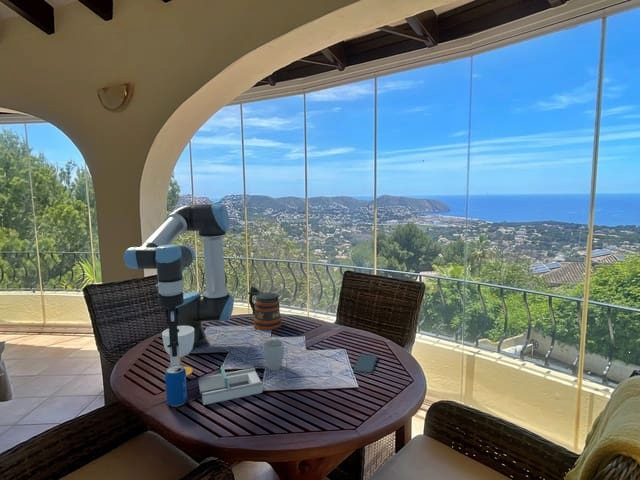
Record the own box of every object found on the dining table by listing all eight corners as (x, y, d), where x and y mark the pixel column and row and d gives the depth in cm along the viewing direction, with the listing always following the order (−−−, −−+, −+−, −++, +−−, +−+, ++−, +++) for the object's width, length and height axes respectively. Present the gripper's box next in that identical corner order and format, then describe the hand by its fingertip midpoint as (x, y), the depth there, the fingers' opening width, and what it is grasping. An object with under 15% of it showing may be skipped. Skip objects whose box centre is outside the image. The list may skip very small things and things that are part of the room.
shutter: (198, 381, 135) (197, 371, 134) (223, 376, 138) (223, 366, 138) (200, 393, 127) (199, 383, 126) (227, 388, 130) (227, 378, 129)
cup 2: (287, 364, 155) (287, 341, 154) (279, 373, 147) (278, 348, 146) (269, 361, 157) (269, 338, 156) (260, 370, 150) (259, 346, 149)
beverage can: (180, 409, 124) (178, 374, 122) (162, 406, 125) (160, 372, 123) (191, 398, 130) (189, 365, 128) (174, 396, 131) (172, 363, 130)
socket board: (200, 387, 137) (199, 377, 136) (254, 377, 144) (254, 367, 144) (203, 405, 126) (202, 394, 125) (262, 392, 133) (262, 382, 133)
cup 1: (157, 377, 145) (155, 334, 143) (179, 363, 156) (176, 324, 154) (182, 382, 141) (180, 338, 139) (202, 368, 152) (200, 327, 150)
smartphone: (352, 369, 148) (360, 352, 162) (352, 373, 149) (360, 356, 163) (371, 372, 146) (377, 355, 160) (371, 376, 146) (377, 358, 160)
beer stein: (240, 327, 197) (239, 289, 195) (256, 318, 211) (255, 283, 208) (272, 332, 190) (271, 293, 187) (286, 322, 203) (285, 286, 201)
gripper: (158, 285, 131) (162, 347, 134) (157, 303, 111) (162, 375, 114) (181, 283, 134) (184, 343, 137) (185, 300, 114) (188, 371, 116)
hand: (174, 358), depth 125 cm, fingers open, 10 cm apart
